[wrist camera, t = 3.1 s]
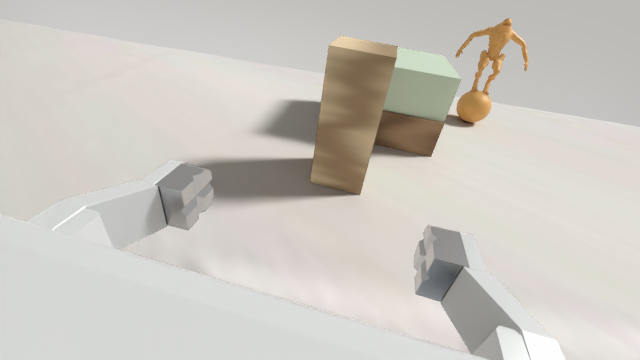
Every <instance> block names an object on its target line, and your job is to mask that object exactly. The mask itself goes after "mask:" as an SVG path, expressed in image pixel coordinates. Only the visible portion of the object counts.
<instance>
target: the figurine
mask: <svg viewBox="0 0 640 360" xmlns="http://www.w3.org/2000/svg"><path fill="white" fill-rule="evenodd" d="M511 23H512V21H511V19H510V18H508V19H506V20H504V21H503V22H502V23H500V24H498V25H496V26H494V27H490V28H487V29H485V30H481V31H477V32H474V33H472V34H471V35H470V37H469V38H468V40H467V41H466V42H465V43H464V44H463V45H462V46H461V48H460V49H459V50H458V52H457V54H456V58H457V56H458V57H459V55H460V53H462V49H464V48H465V47H466V46H467V45H468V44H469V42H470V41H471V40H472V39H473V37H478V36H483V35H489V36H490V37H489V40H490V41H489V49H488V53H487V51H485V50H484V51H482V53H481V56H480V61H479V63H478V70H479V71H478V72H477V73H476V74H475V77H476V78H475V81H474V84H473V87H472V89H471V91H470V92H468V93H466V94H464V95H463V96H462V97H461V98H460V99H459V101H458V103H457V113H458V115H459V117H460V118H461V119H463V120H464V121H467V122H477V121H480V120H482V119H484V118H485V117H486V116H487V115H488V114H489V112H490V110H491V100H490V98H489V96H488V89H489V85H490V82H491V81H492V80H494V79H495V77H496V75H497V74H499V72H500V69H501V65H502V61H503V59H504V57H505V55H504V54H501V55H500V56H499V53H500V51H501V49H502V48H503V47H504V45H505V44H507V42H508V41H509V39H512V40H513V41H515V42H516V43H518V44H519V45H521V46H522V52H523V58H524V60H525V64H524V65H525V69H524V70H525V71H526V70H527V66H528V54H527V50H526V43H525V41H524V40H523V39H522V38H520V37H519V36H518V35H517V34H516V33H515V32H514V31H513V30H512V29H511ZM458 54H459V55H458ZM489 60H490V61H492V60H494V62H493V64H492V69H493V70H494V73H493V74H492V75H490V76H489V77H488V80H487V82H486V84H485V87H484V90H483V91H478V90H477V85H478V80H479V77H481V75H482V71H483V69H484V68H485V67H486V66H487V65H488V63H489Z"/></svg>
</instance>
